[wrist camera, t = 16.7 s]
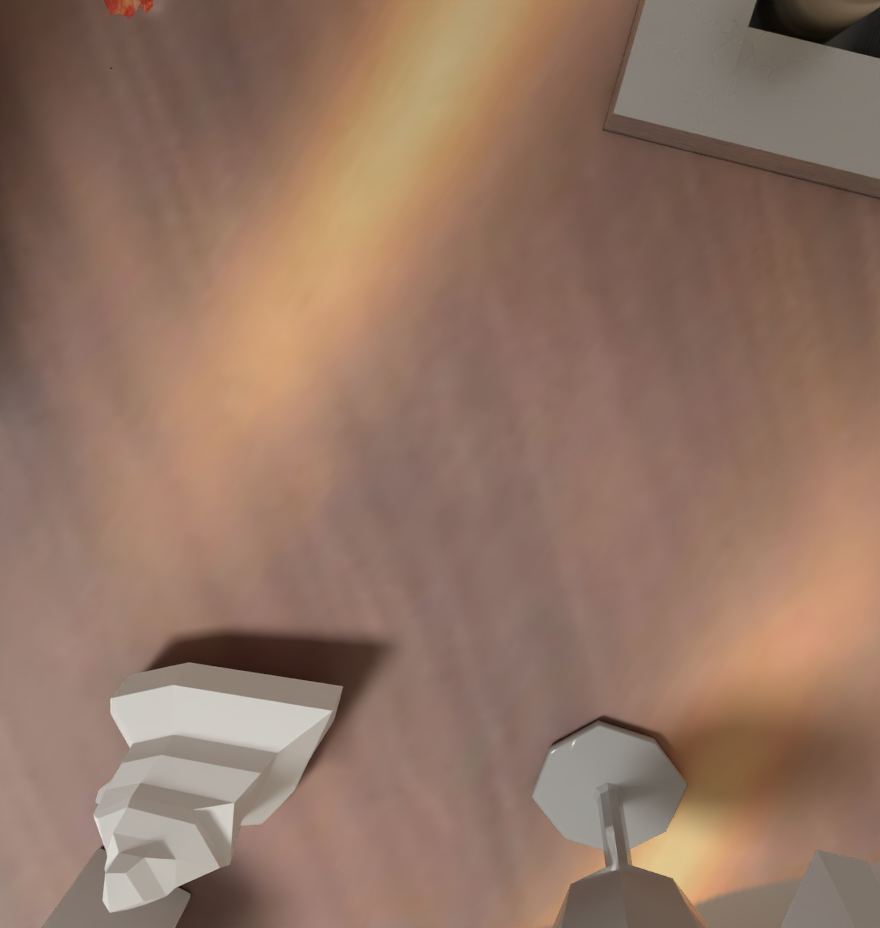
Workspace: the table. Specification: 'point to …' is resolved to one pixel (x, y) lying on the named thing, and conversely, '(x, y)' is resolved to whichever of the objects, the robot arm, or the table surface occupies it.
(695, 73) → the block
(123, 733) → the soft serve ice cream
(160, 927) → the milk carton
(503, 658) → the table surface
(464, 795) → the table surface
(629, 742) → the wineglass
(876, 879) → the robot arm
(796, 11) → the beige cylinder
